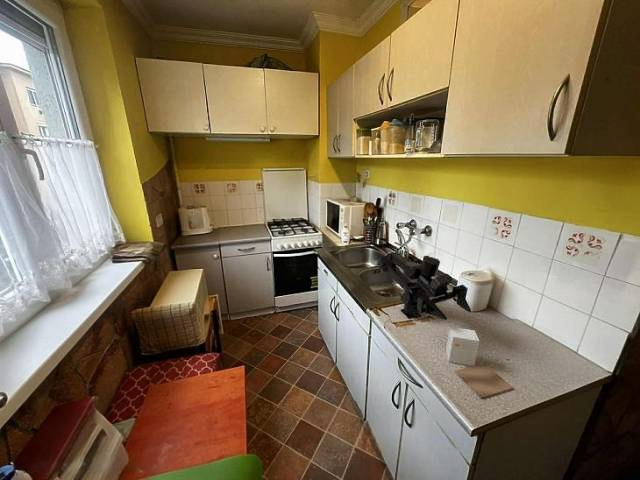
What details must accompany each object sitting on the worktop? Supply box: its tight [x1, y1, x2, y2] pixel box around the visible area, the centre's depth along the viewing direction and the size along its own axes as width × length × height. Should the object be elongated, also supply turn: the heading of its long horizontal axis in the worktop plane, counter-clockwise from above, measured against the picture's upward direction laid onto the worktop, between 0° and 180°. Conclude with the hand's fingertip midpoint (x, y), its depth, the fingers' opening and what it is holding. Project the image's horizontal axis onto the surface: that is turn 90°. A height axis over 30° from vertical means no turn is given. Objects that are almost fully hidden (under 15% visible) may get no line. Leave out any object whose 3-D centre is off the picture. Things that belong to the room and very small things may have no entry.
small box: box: [445, 326, 480, 367], centre depth 87 cm, size 8×6×10 cm
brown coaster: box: [454, 362, 514, 400], centre depth 80 cm, size 10×12×1 cm
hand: (458, 315), depth 86 cm, fingers open, 9 cm apart
